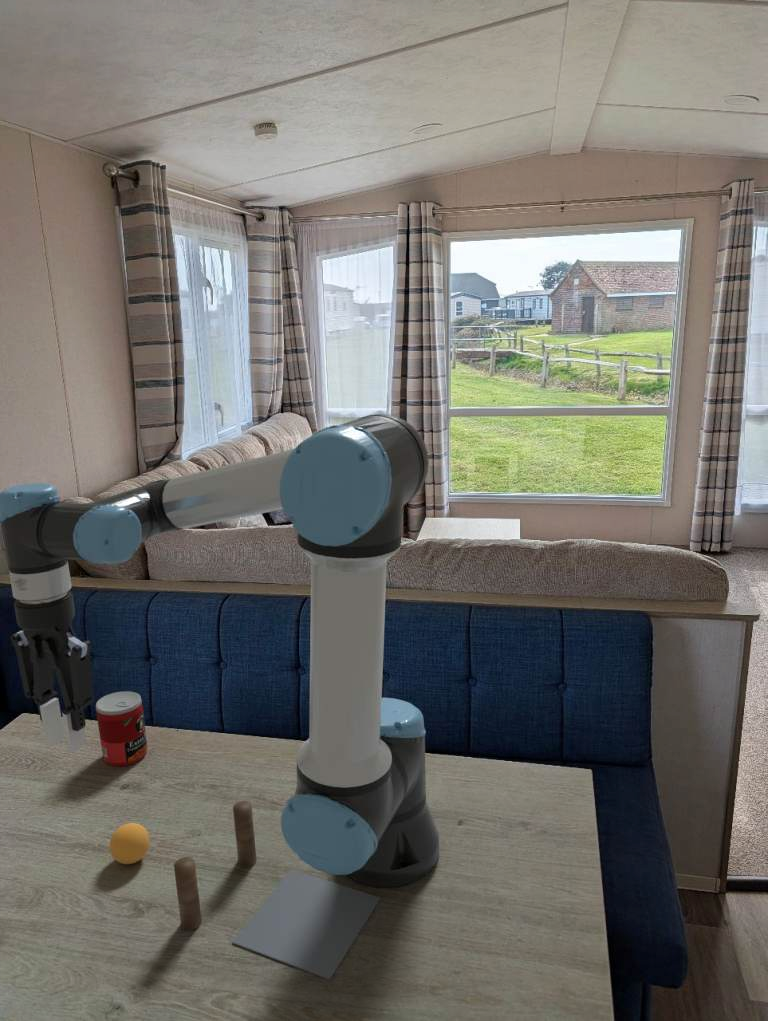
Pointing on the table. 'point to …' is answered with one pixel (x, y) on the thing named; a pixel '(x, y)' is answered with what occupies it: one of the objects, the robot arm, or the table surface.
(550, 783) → the table surface
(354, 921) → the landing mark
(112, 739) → the canned food
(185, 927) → the front post
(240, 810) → the post
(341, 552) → the robot arm
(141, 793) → the table surface
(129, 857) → the ball
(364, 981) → the table surface
